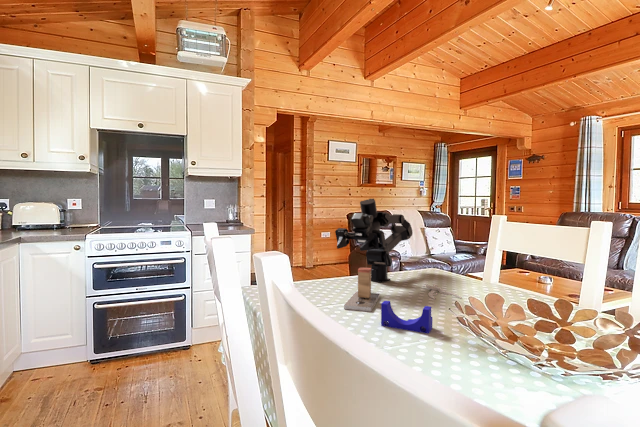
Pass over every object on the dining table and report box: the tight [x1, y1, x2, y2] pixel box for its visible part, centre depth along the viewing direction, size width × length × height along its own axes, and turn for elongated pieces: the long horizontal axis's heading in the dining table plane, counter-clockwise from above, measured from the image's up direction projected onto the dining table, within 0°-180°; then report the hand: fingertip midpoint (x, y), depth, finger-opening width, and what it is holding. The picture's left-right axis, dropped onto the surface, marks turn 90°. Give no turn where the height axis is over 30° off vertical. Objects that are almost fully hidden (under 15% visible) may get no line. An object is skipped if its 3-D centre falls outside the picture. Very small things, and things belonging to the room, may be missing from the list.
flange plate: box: [343, 291, 381, 313], centre depth 114 cm, size 16×8×2 cm, turn 162°
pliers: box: [425, 284, 463, 300], centre depth 126 cm, size 10×2×15 cm
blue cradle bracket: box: [380, 300, 433, 335], centre depth 93 cm, size 12×4×6 cm, turn 62°
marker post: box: [357, 267, 372, 298], centre depth 116 cm, size 4×4×9 cm
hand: (348, 248), depth 125 cm, fingers open, 9 cm apart
